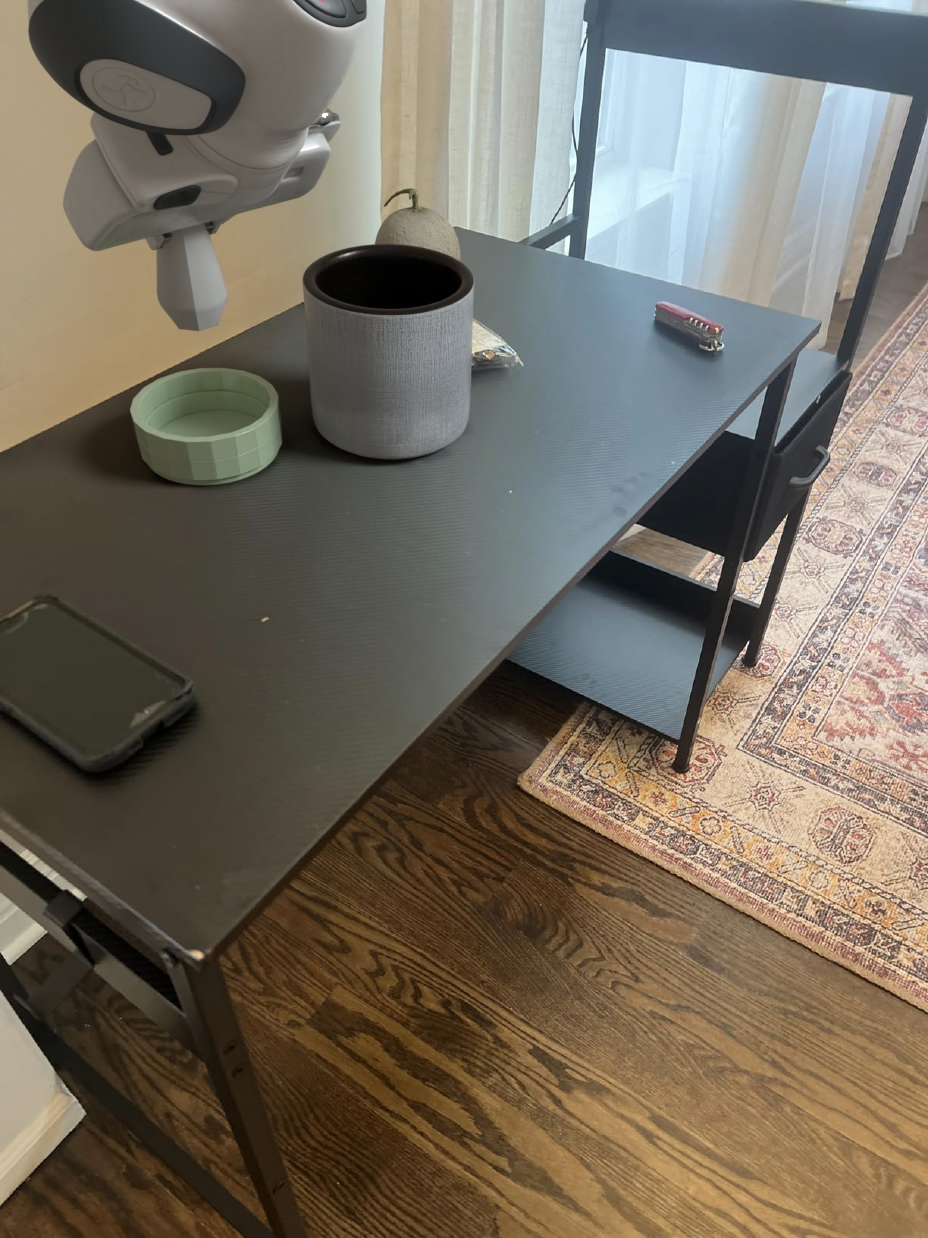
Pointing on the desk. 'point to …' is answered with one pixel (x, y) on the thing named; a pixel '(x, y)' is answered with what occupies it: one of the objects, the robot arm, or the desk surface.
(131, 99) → the robot arm
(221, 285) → the grey tapered column
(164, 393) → the bowl
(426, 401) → the planter
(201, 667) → the desk surface
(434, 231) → the fruit
